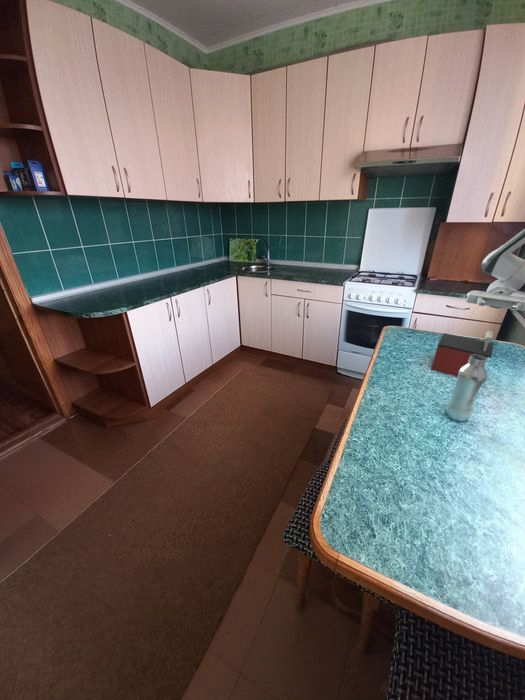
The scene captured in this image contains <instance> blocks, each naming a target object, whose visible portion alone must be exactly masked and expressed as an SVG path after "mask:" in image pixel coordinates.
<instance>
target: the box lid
mask: <svg viewBox="0 0 525 700" xmlns="http://www.w3.org/2000/svg"><path fill="white" fill-rule="evenodd" d="M493 337H494V331H492V330H487V331H486V332H485V336H484V340H479V339H475V338H470V337H465V336H460V335H455V334H450V333H445V332H443V334H442V335H441V337H440V339H439V342H438V344H437V347H438V346H441V347H445V348H449V349H454V350H458V351H463V352H467V353H471V354H479V355H482V356H485V357H488V358H489V359H492V356H493V349H494V348H493V347H494V342H493Z"/></svg>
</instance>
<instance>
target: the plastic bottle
mask: <svg viewBox="0 0 525 700" xmlns="http://www.w3.org/2000/svg"><path fill="white" fill-rule="evenodd" d="M468 362H469V363H467V364H465V365H464V366H462V367H461V368H460V370H459V372H458V377H457V376H456V377H457V379H456V384H455V387H454V391H453V393H452V395H451V396H450V398H449V400H448V401H447V404H446V406H445V407H446V408H445V412H446V414H447V416H448V417H449V418H451V419H452V420H455V421H457V422H465V421H467V420H470V418H471V417H472V416H473V413H474V405H475V402H476V398H477V396H478V394H479V392H480V389H481V388H482V387H483V385H484V383H485V382H486V380H487V371H486V370H485V366H486V363H487V360H486V357H484V356H482V355H479V354H472V355H471V356H470V358H469V360H468ZM485 362H486V363H485ZM483 366H484V367H483Z"/></svg>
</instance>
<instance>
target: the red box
mask: <svg viewBox="0 0 525 700" xmlns="http://www.w3.org/2000/svg"><path fill="white" fill-rule="evenodd" d="M471 355H472V354H471V353H467V352H463V351H458V350H454V349H449V348H445V347H441V346H438V345H437V347H436V351H435V354H434V358H433V361H432V365H431V368H430V370H431V371H434V372H435V371H436V372H439V373H442V374H446V375H449V376H453V377H458V372H459V370H460V368H461V367H462V366H464V365H465V364H467V363H469V362H468V360H469V358H470V356H471ZM484 357H485V356H484ZM488 358H489V357H486V362H485V364H486V363H487V361H488ZM483 367H484V368H485V366H483Z"/></svg>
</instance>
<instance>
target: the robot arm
mask: <svg viewBox="0 0 525 700" xmlns="http://www.w3.org/2000/svg"><path fill="white" fill-rule="evenodd" d="M523 245H525V227H524V228H523V229H522V230H520V231H519V232H518V233H516V234H515V235H514V236H512V237H511V238H510V239H508V240H507V241H506V242H505V243H503V244H502V245H500V246H499V247H497V248H495V250H492V251H491V252H490V253H488V254H487V255H486V256H485V257H484V258H483V260H482V262H481V265H480V267H481V270H482V272H483V273H484V274H487V275H489V276H491V277H494V278H496V280H494V281H492V282H491V283H490V284H489V285H488V287H487V289H486V291H484V290H482V291H481V290H473V289H472V290H470V291H469V292H466V293H467V294H466V298H465V303H467V304H474V305H478V306H479V307H484V306H487V307H490V308H493V309H507V310H510V311H511V312H517V311H521V312H525V259H523V258H521V257H519V256H517V255H515V254H514V253H513V252H515V251H516V250H517V249H519V248H521V247H522V246H523Z"/></svg>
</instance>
